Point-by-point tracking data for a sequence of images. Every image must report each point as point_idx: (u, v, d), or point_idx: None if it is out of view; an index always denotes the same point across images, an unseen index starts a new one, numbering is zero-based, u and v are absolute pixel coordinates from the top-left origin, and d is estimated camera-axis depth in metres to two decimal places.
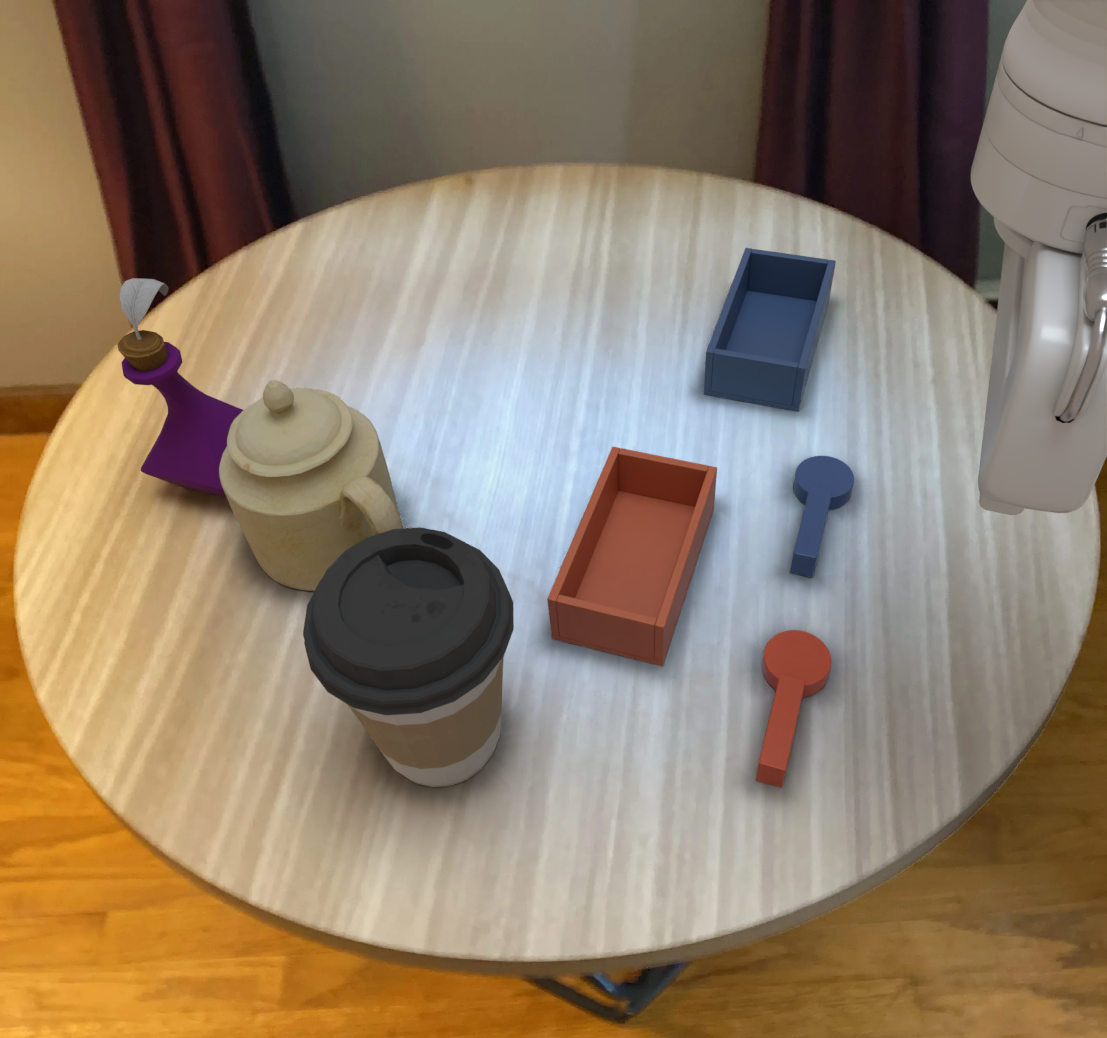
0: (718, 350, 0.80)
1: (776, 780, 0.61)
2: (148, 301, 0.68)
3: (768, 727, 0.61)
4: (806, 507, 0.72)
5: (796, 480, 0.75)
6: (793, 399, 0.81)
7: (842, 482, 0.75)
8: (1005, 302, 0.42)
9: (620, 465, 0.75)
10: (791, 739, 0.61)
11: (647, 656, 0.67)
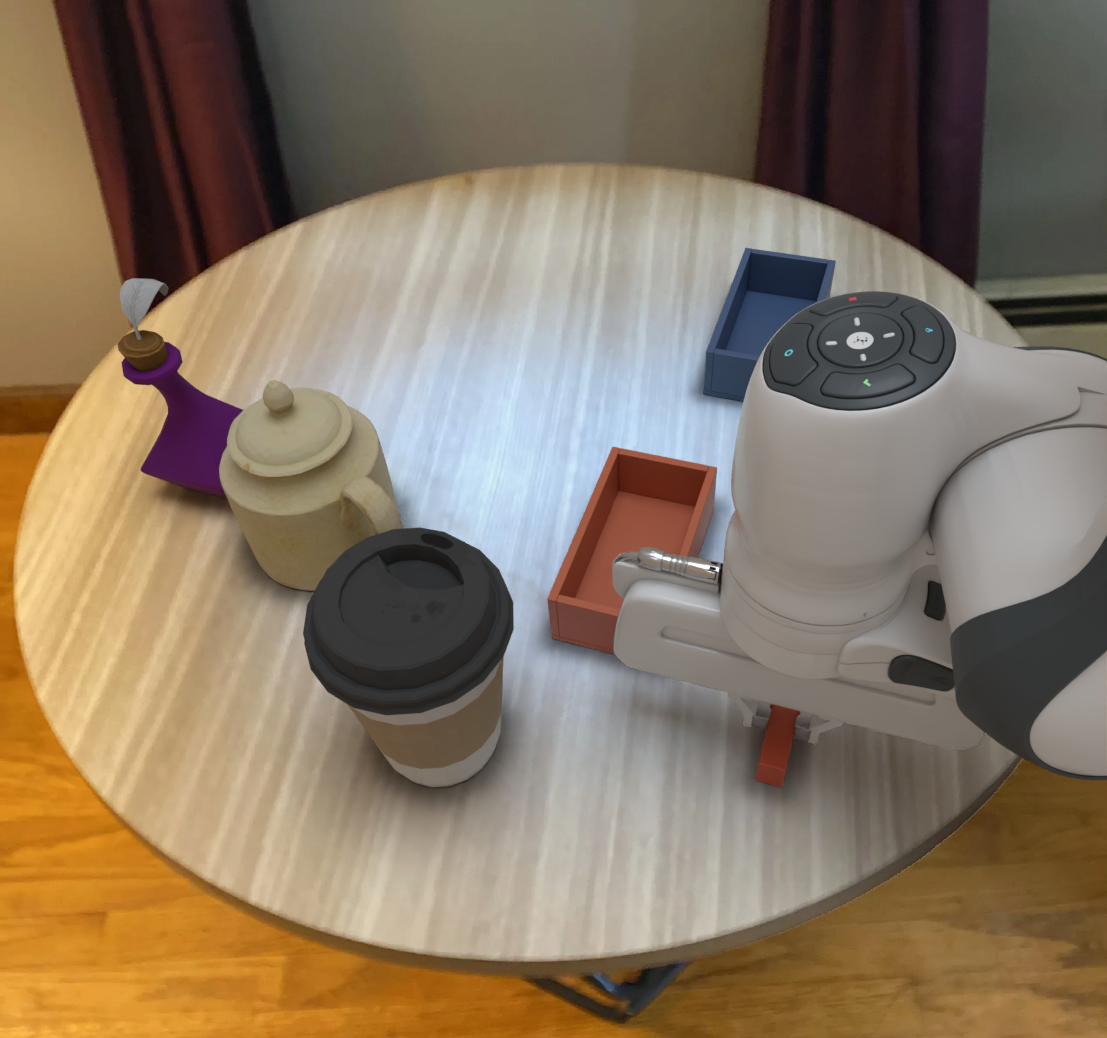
0: (718, 350, 0.80)
1: (776, 780, 0.61)
2: (148, 301, 0.68)
3: (768, 727, 0.61)
4: None
5: None
6: None
7: None
8: None
9: (620, 465, 0.75)
10: (791, 739, 0.61)
11: None
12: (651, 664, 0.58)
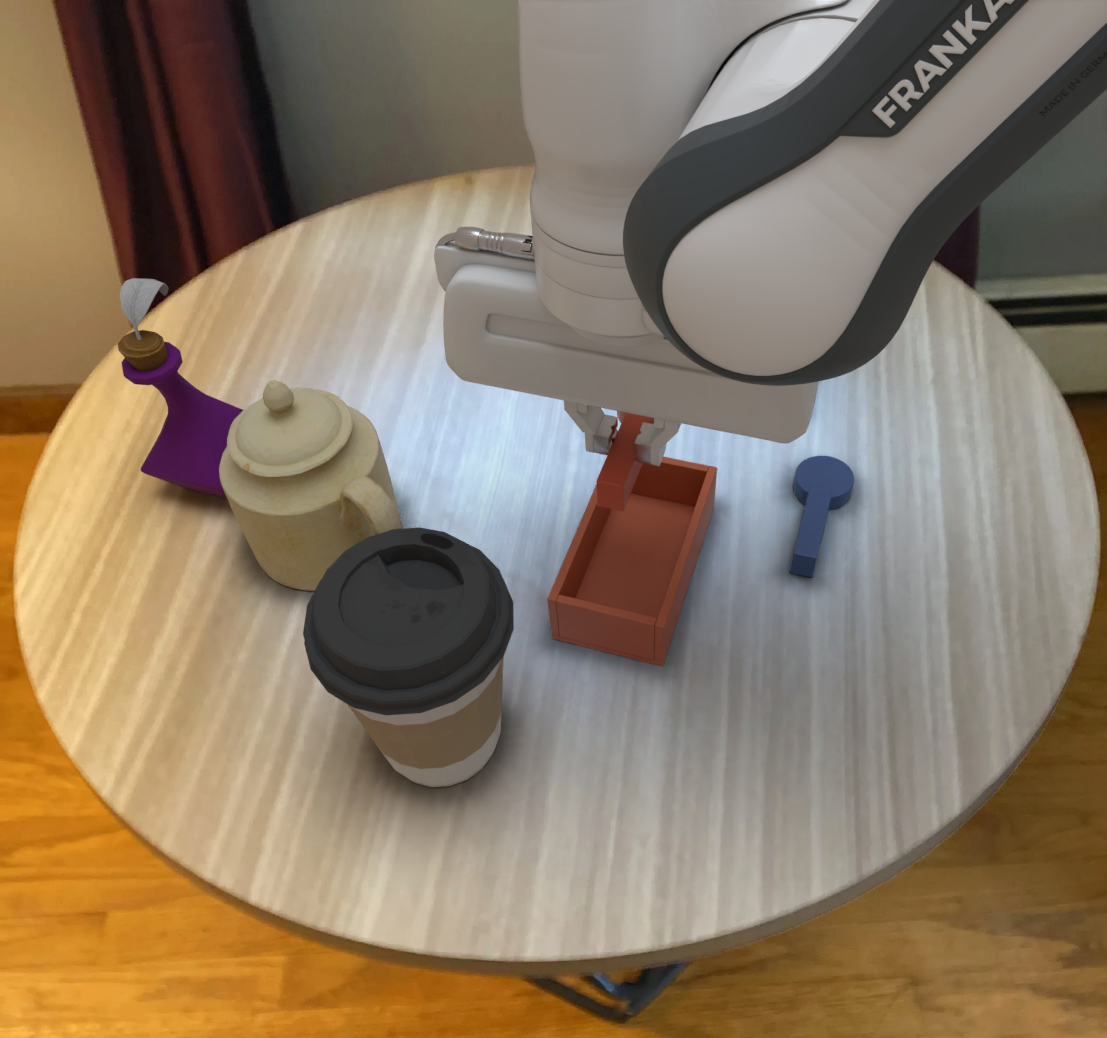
0: None
1: (616, 502, 0.59)
2: (148, 301, 0.68)
3: (610, 450, 0.60)
4: (806, 507, 0.72)
5: (796, 480, 0.75)
6: None
7: (842, 482, 0.75)
8: None
9: None
10: (632, 460, 0.59)
11: (647, 656, 0.67)
12: (482, 371, 0.57)
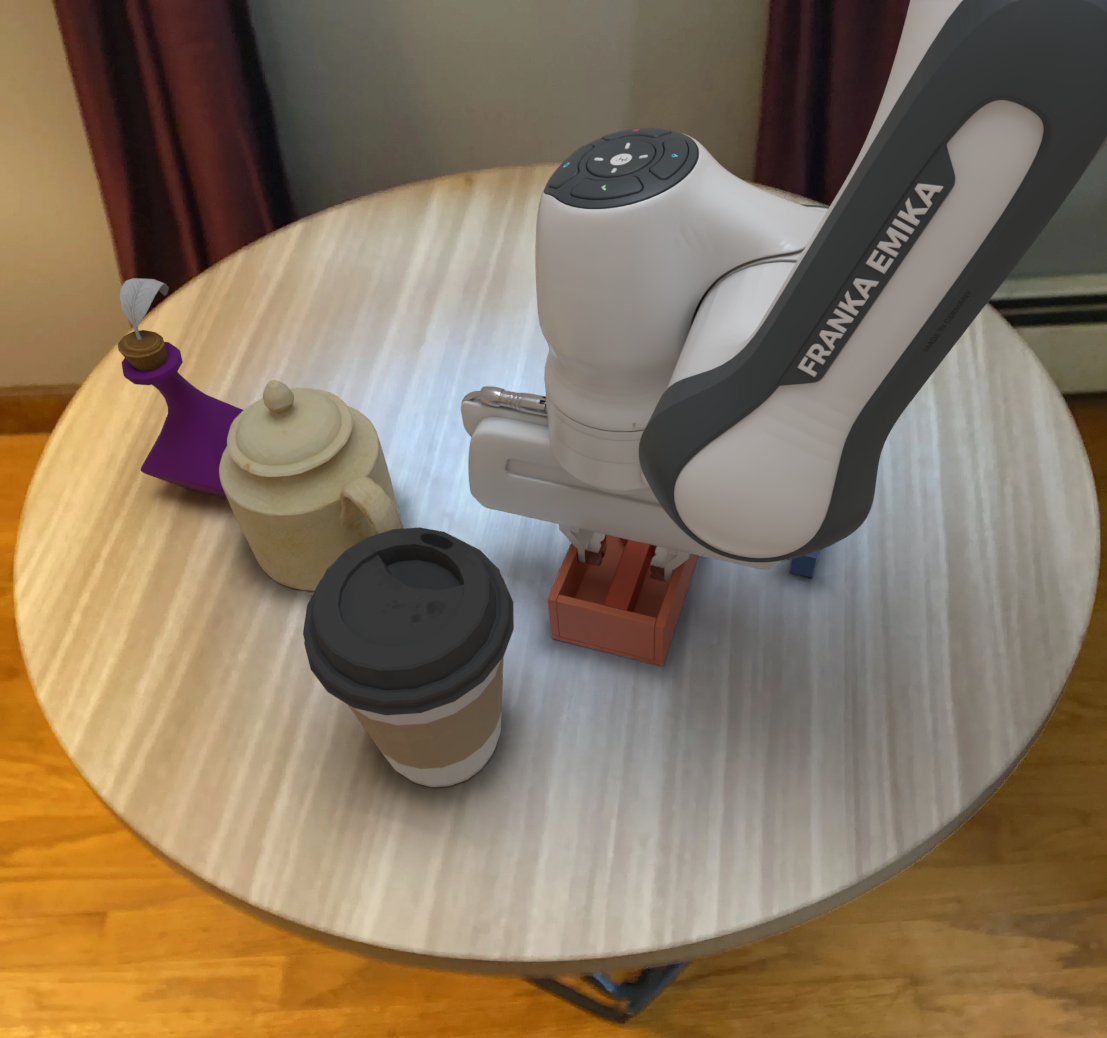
0: None
1: None
2: (148, 301, 0.68)
3: (615, 575, 0.69)
4: None
5: None
6: None
7: None
8: None
9: None
10: (634, 585, 0.68)
11: (647, 656, 0.67)
12: (502, 501, 0.65)
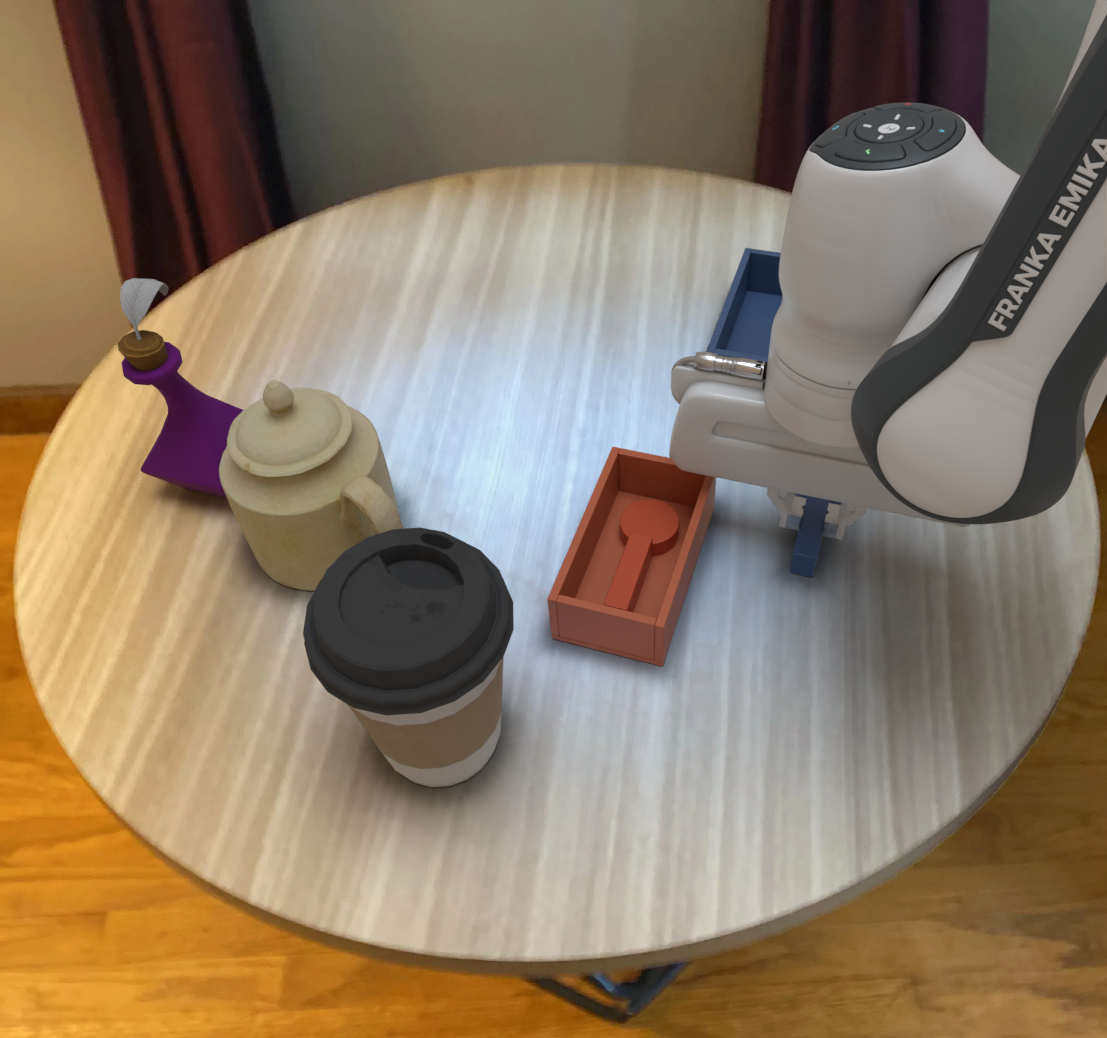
0: (718, 350, 0.80)
1: None
2: (148, 301, 0.68)
3: (615, 575, 0.69)
4: (806, 507, 0.72)
5: None
6: None
7: None
8: None
9: (620, 465, 0.75)
10: (634, 585, 0.68)
11: (647, 656, 0.67)
12: (702, 464, 0.68)
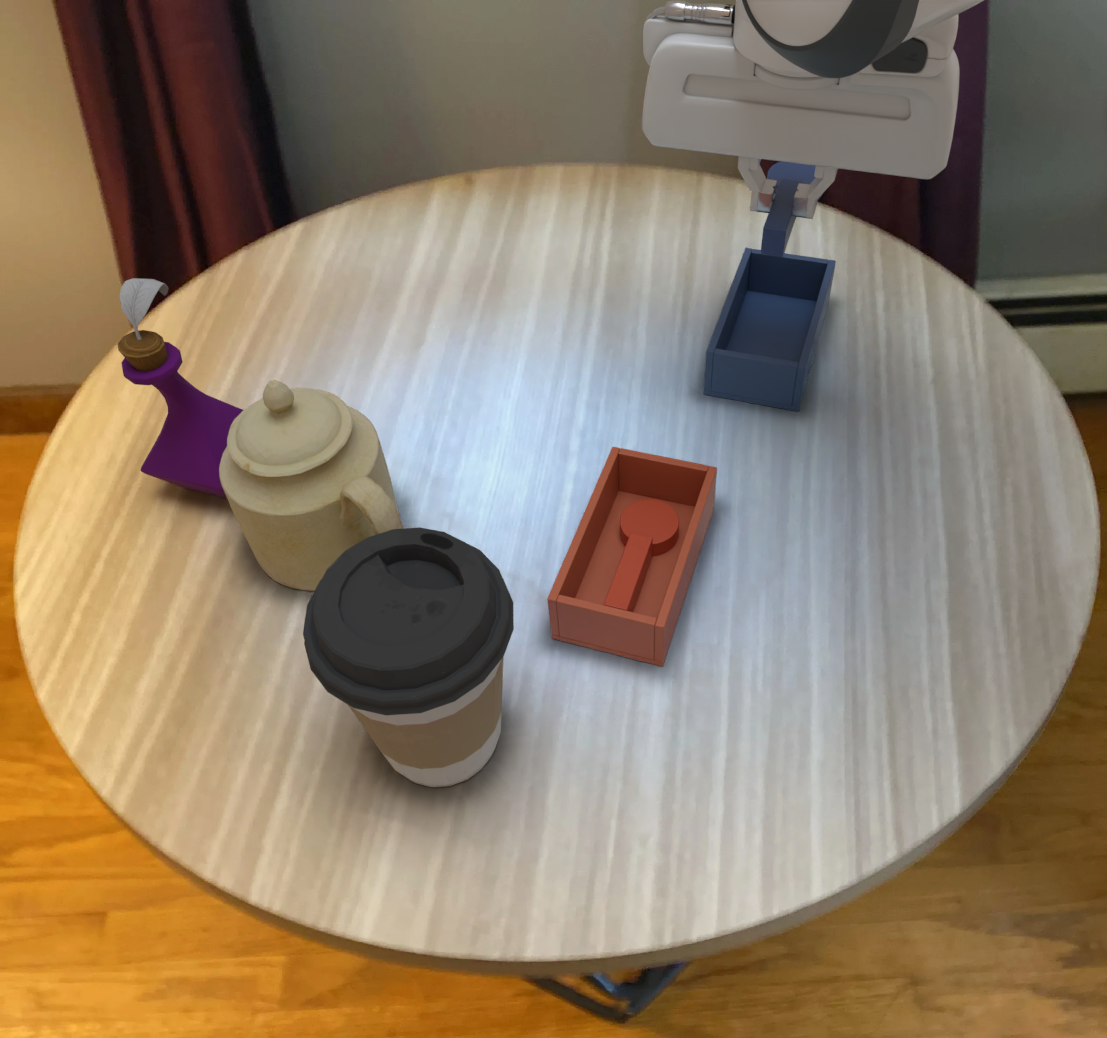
0: (718, 350, 0.80)
1: None
2: (148, 301, 0.68)
3: (615, 575, 0.69)
4: (777, 193, 0.74)
5: (768, 178, 0.77)
6: (793, 399, 0.81)
7: (813, 178, 0.76)
8: None
9: (620, 465, 0.75)
10: (634, 585, 0.68)
11: (647, 656, 0.67)
12: (674, 132, 0.70)
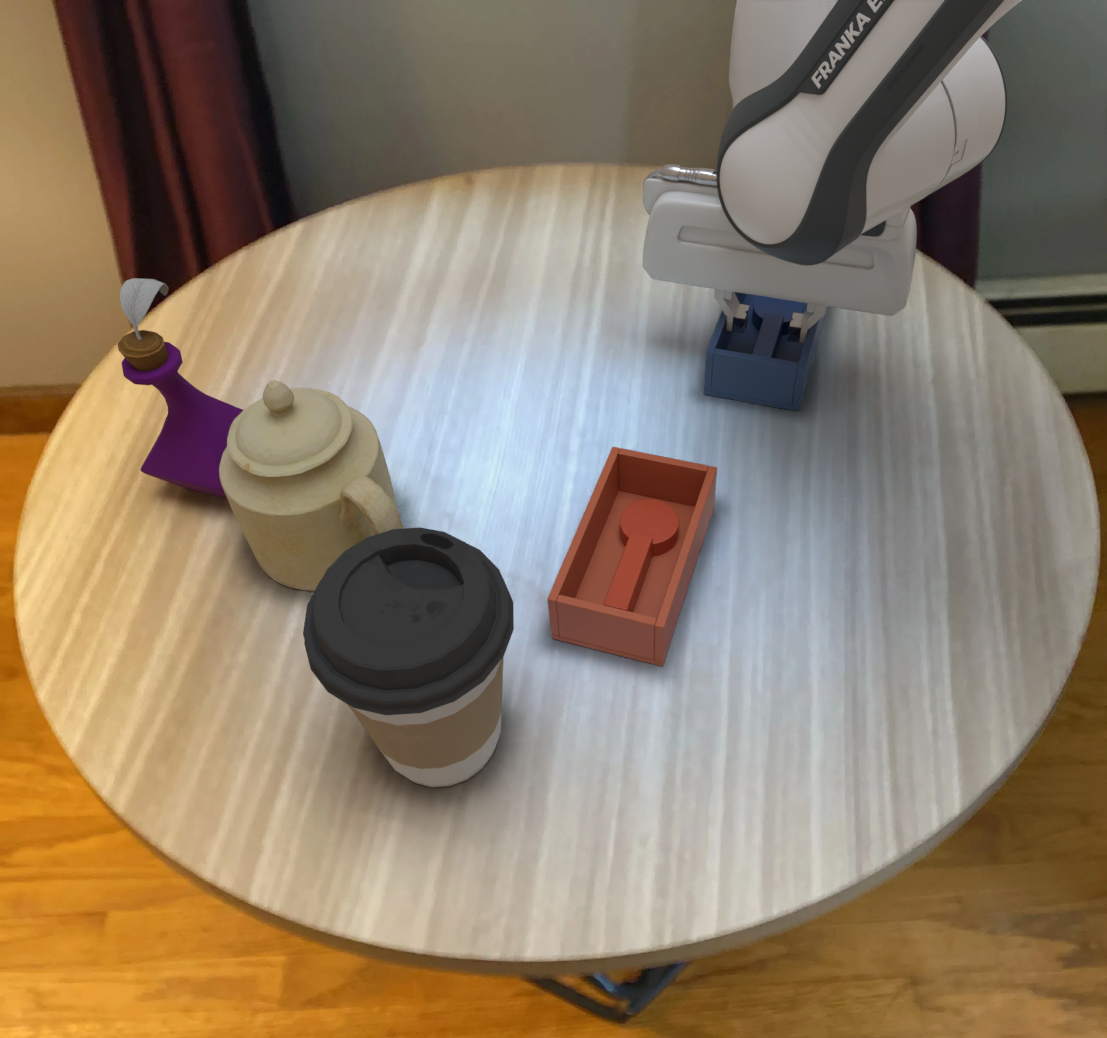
0: (718, 350, 0.80)
1: None
2: (148, 301, 0.68)
3: (615, 575, 0.69)
4: (761, 327, 0.85)
5: (754, 310, 0.87)
6: (793, 399, 0.81)
7: (793, 311, 0.87)
8: None
9: (620, 465, 0.75)
10: (634, 585, 0.68)
11: (647, 656, 0.67)
12: (670, 270, 0.80)
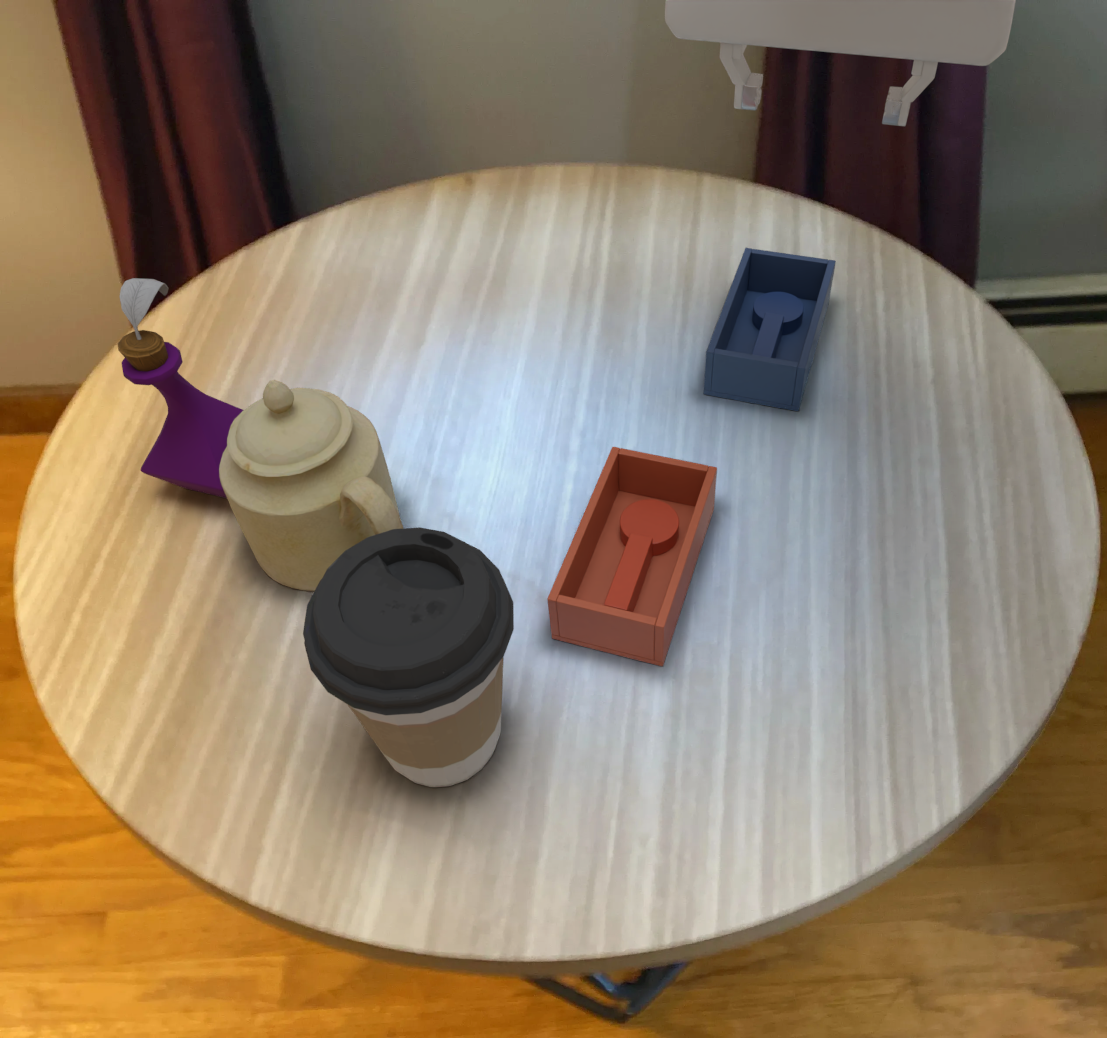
0: (718, 350, 0.80)
1: None
2: (148, 301, 0.68)
3: (615, 575, 0.69)
4: (761, 327, 0.85)
5: (754, 310, 0.87)
6: (793, 399, 0.81)
7: (793, 311, 0.87)
8: None
9: (620, 465, 0.75)
10: (634, 585, 0.68)
11: (647, 656, 0.67)
12: (700, 21, 0.63)
